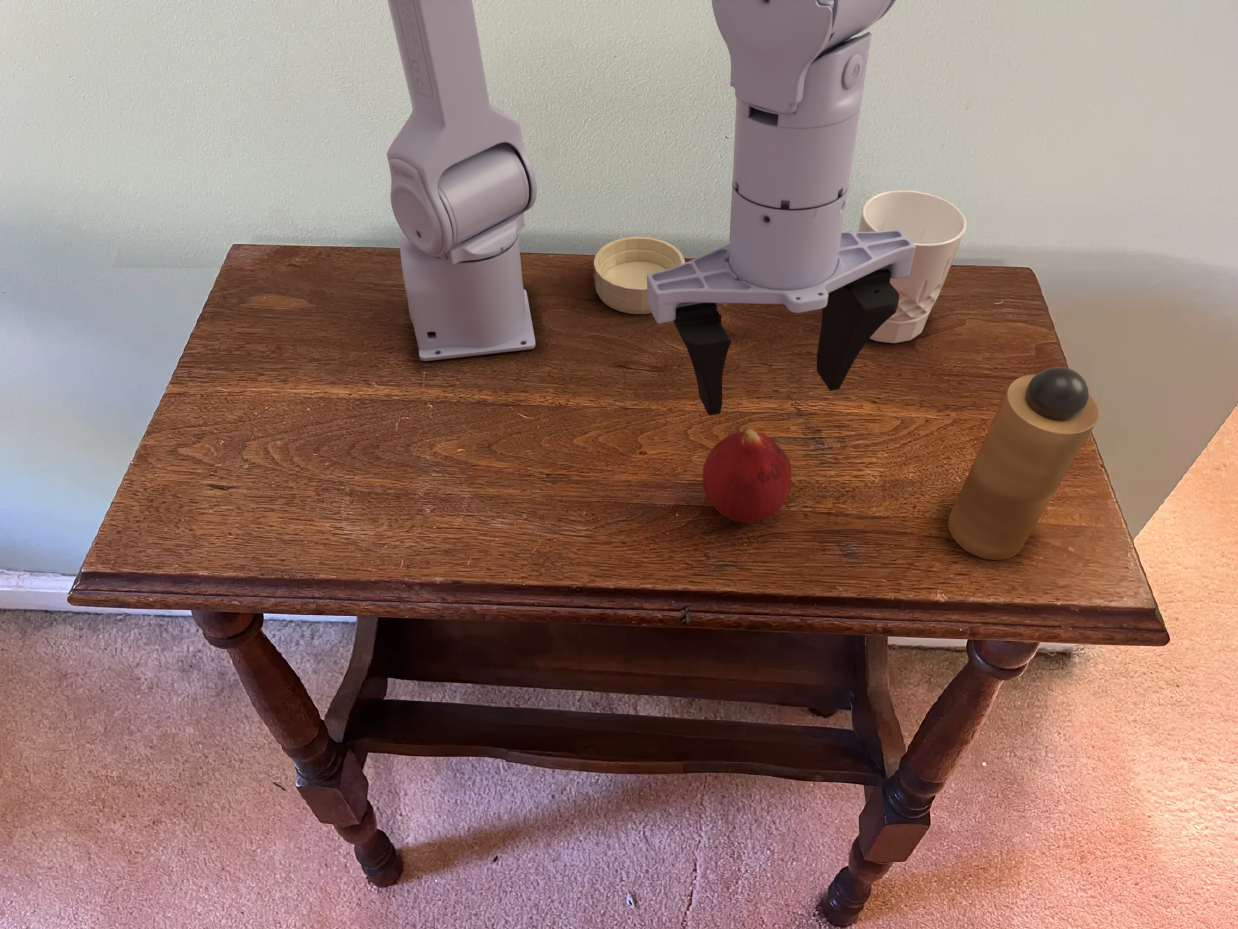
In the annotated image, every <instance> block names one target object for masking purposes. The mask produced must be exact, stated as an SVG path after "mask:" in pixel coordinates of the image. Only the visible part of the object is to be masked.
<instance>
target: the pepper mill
mask: <svg viewBox="0 0 1238 929" xmlns="http://www.w3.org/2000/svg"><path fill="white" fill-rule="evenodd" d="M1089 392H1090V391H1089V387H1088V385H1087V382H1086V380H1085V378H1084V377H1083V376H1082V375H1081V374H1080V373H1078V372H1077V371H1075V370H1074V369H1072V368H1068V367H1064V366H1053V367H1048V368H1045V369H1043V370H1041V371H1039V372H1038V373H1033V374H1027V375H1023V376H1021V377H1018V378H1016V379H1015V380H1013V381H1012V382H1011V383H1010V384H1009V386H1008V388H1007V390H1006V392H1005V394H1004V397H1003V398H1002V401H1001V403H1000V405H999V407H998V409H997V412H996V414H995V415H994V417H993V420H992V422H991V424H990V427H989V429H988V431H987V433H986V435H985V438H984V439H983V442H982V444H981V446H980V448H979V451H978V453H977V455H976V456H975V459H974V461H973V463H972V464H971V465H972V466H971V467H970V470H969V471H968V474H967V476H966V479H965V481H964V483H963V485H962V487H961V489H960V492H959V494H958V496H957V497H956V500H955V502H954V505H953V506H952V509H951V511H950V513H949V515H948V518H947V527H948V528H947V529H948V530H949V531H948V532H949V533H950V535H951V537H952V539H953V540H954V541H955V543H956V544H957V545H958V546H959V547H961V549H963V551H964V550H965V551H966V552H967V553H969V554H970V555H973V556H976V557H978V558H981V559H984V560H990V561H1003V560H1004V561H1005V560H1007V559H1010V558H1012V557H1015V556H1016V555H1017V554H1019V553H1020V552H1021V550H1022V549H1023V547H1024V545H1025V544H1026V542H1027V540H1028V538H1030V535H1031V534H1032V532H1033V530H1034V529H1035V527H1036V525H1037V523H1038V522H1039V520H1040V519H1041V517H1042V515H1043V513H1044V512H1045V510H1046V508H1047V507H1048V505H1049V503H1050V502H1051V500H1052V499H1053V497H1054V495H1055V494H1056V491H1057V490H1058V488H1059V487H1060V485H1061V483H1062V481H1063V479H1064V478H1065V476H1066V474H1067V473H1068V471H1069V469H1070V468H1071V466H1072V464H1073V463H1074V462H1075V459H1076V458H1077V456H1078V454H1079V453H1080V451H1081V449H1082V448H1083V445H1085V442H1086V441H1087V439H1088V437H1089V436H1090V434H1091V432H1092V431H1093V429H1094V427H1095V425H1096V424H1097V422H1098V420H1099V409H1098V405H1097V403H1096V402H1095V400H1094V399H1093V397H1092V396H1091V395H1090V394H1089Z"/></svg>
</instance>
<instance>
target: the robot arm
mask: <svg viewBox="0 0 1238 929" xmlns="http://www.w3.org/2000/svg"><path fill="white" fill-rule="evenodd" d="M896 1H897V0H711V6H712V7H711V8H712V12H713V16H714V19H715V23H716V25H717V29H718V31H719V33H720V35H721V37H722V40H723V41H724V43H725V44H726V47H727V50H728V53H729V58H730V80H729V81H730V84H729V85H730V87H732V88H734V95H735V118H734V119H735V122H734V141H733V143H734V144H733V163H732V164H733V165H732V181H731V182H732V183H731V201H730V220H729V221H730V222H729V240H728V241H729V243H728V244H726V245H724V246H722V247H719V248H716V249H714V250H711V251H710V252H708V253H704V254H703V255H700V256H698V257H696V258H693V259H691V260H689V261H685V263H684V264H681V265H679V266H676V267H673V268H671V269H667V270H664V271H660V272H655V273H651V274H647V296H648V306H649V308H650V310H651V312H652V313H651V314H652V317H653V318H654V320H655V322H656V324H664V323H670V322H673V324H674V326H675V328H676V330H677V332H678V335H679V336H680V338H681V340H682V342H683V344H684V345H685V347H686V350H687V353H688V355H689V358H690V360H691V364H692V367H693V371H694V375H695V379H696V383H697V389H698V396H699V399H700V401H701V403H702V405H703V407H704V409H705V411H706V413H707V415H708V416H715V415H720V414H721V411H722V409H723V408H722V407H723V376H724V370H725V364H726V360H727V359H726V358H727V356H728V351H729V349H730V346H731V343H732V340H731V338H730V336H729V335H728V333H727V332H726V330H725V327H724V326H723V324H722V314H720V312H719V311H718V306H721V305H727V304H746V305H747V304H750V305H753V304H754V305H758V304H759V305H784V306H785V307H786V309H787V310H788V311H789V312H791V313H794V314H800V313H807V312H812V311H816V310H821V324H820V332H819V338H818V345H817V352H816V372H817V374H818V375H819V377H820V378H821V380H822V382H824V384H825V386H826V388H827V389H828V390H829V392H831V391H836V390H837V391H838V390H840V389H841V387H842V385H843V383H844V381H845V379H846V377H847V375H848V374H849V371H850V369H851V368H852V366H853V364H854V362H855V361H856V359H857V358H858V355H859V354H860V352H861V351H862V349H863V348H864V346H865V345H866V344H867V343H868V341H869V340H870V339H869V338H870V337H871V336H872V335H873V334H874V333H875V331H876V330H877V329H878V328H879V327H880V326H881V325H882V324H883V323H884V322H885V321H886V320H887V319H889V318H890V317H891V316H892V315H893V314H895V313H896V310H897V307H898V302H899V298H900V296H899V293H898V291H897V290H896V289H895V288H894V287H893V286H892V285H891V283H890V278H892V279H898V278H903V277H908V276H910V271H911V266H912V262H913V257H914V253H915V248H916V246H915V245H914V244H913V243H912V242H911V241H910V240H909V239H908V238H907V237H906V236H905V235H904V234H903V232H902V231H901V230H900V229H894V230H888V231H876V232H858V231H843V227H844V220H845V213H846V206H847V200H848V194H849V187H850V181H851V175H852V168H853V162H854V155H855V147H856V141H857V135H858V128H859V121H860V115H861V108H862V101H863V96H864V88H865V80H866V74H867V73H866V72H867V66H868V61H869V60H868V59H869V53H870V46H871V40H872V33H871V32H870V31H867V32H865V33H863V34H861V35H859V36H856V35H858V34H860V33H862V32H864V31H866V30H867V29H869V28H871V26H873V25H874V24H876V23H877V22H878V21H879V20H880V19H882V18H884V16H885V15H886V14H887V13H888V12H889V11H890V10H891V8H892V7H893V5H894V4H895V2H896ZM387 3H388V8H389V14H390V17H391V21H392V26H393V30H394V35H395V38H396V42H397V47H398V51H399V56H400V60H401V65H402V69H403V73H404V77H405V78H404V79H405V82H406V87H407V92H408V95H409V99H410V104H411V108H412V111H411V113H410V114H409V117H408V119H407V120H406V122H405V123H404V124H403V126H402V127H401V129H400V130H399V132H398V134H396V137H395V138H394V140H393V141H392V143H391V144H390V146H389V148H388V149H387V152H386V157H387V161H388V166H389V172H390V180H391V182H390V183H391V184H390V205H391V209H392V212H393V216H394V218H395V221H396V223H397V225H398V226H399V228H400V230H401V231H402V233H403V234H404V236H403V237H401V238H399V252H400V253H399V254H400V263H401V269H402V271H401V272H402V276H403V283H404V290H405V294H406V299H407V303H408V304H407V305H408V306H407V307H408V313H409V319H410V322H411V323H412V325H413V329H414V330H413V331H414V334H415V338H416V343H417V347H418V348H417V349H418V356H419V359H420V361H423V362H431V361H438V360H440V361H441V360H449V359H457V358H466V357H473V356H484V355H493V354H501V353H509V352H510V353H511V352H519V351H529V350H532V349H535V347H536V344H537V343H536V338H535V333H534V332H535V331H534V326H533V320H532V315H531V311H530V304H529V297H528V293H527V290H526V289H525V288H524V281H523V280H524V279H523V270H522V260H521V252H520V251H521V250H520V239H519V231H520V230H521V229H523V228H524V227H525V226H526V222H525V212H528V211H529V210H530V209H532V207H533V206H534V204H536V200H537V195H538V183H537V182H538V181H537V174H536V171H535V167H534V165H533V162H532V160H531V158H530V156H529V154H528V152H527V150H526V147H525V144H524V141H523V140H524V139H523V136H522V128H521V123H519V121H517V120H516V119H515V118H514V117H513V116H511V115H510V114H508V113H507V112H506V111H503V110H502V109H500V108H498V107H496V106H493V105H491V104H490V98H489V94H488V93H489V92H488V86H487V80H486V75H485V69H484V63H483V56H482V51H481V46H480V45H481V44H480V39H479V32H478V27H477V22H476V16H475V9H474V4H473V0H387Z"/></svg>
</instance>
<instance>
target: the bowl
mask: <svg viewBox="0 0 1238 929" xmlns="http://www.w3.org/2000/svg"><path fill="white" fill-rule="evenodd" d="M684 263H686V260H685V258H684V255H683V253H682V252H681V251H680V250H679V249H678V248H677V247H676V246H675V245H673V244H671V243H669V242H667V241H665V240H662V239H659V238H655V237H650V236H639V235H638V236H625V237H622V238H618V239H616V240H612V241H610V242H608V243H607V244H604V245H603V246H602V247H601V248H600V249H599V250H598V251H597V253H595V256H594V259H593V286H594V289H595V292H596V294H597V295H598V297H599V299H600V300H601V301H602V302H603V303H604V304H605V305H606V306H608V307H609V308H611V309H613V310H616V311H618V312H621V313H626V314H632V315H648V314H652V312H651V310H650V308H649V306H648V296H647V274H651V273H655V272H660V271H664V270H667V269H671V268H673V267H676V266H679V265H681V264H684Z"/></svg>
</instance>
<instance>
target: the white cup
mask: <svg viewBox="0 0 1238 929" xmlns="http://www.w3.org/2000/svg"><path fill="white" fill-rule="evenodd" d="M967 225H968V224H967V219H966V217H965V215H964V213H963V212H962V211H961V210H960V209H959V207H957V206H956V205H955V204H953V203H952V202H950V201H949V200H946V199H945V198H942V197H940V196H937V195H934V194H931V193H928V192H923V191H919V190H910V189H909V190H907V189H906V190H904V189H898V190H896V189H895V190H888V191H883V192H880V193H878V194H875V195H873V196H871V197H870V198H868V199H867V200H866V202H864V204H863V206H862V209H861V214H860V221H859V226H858V230H857V232H876V231H888V230H894V229H900V230H901V231H902V232H903V234H904V235H905V236H906V237H907V238H908V239H909V240H910V241H911V242H912V243H913V244H914V245H915V246H916V248H915V253H914V257H913V262H912V266H911V271H910V276H908V277H903V278H898V279H892V278H890V283H891V285H892V286H893V287H894V288H895V289H896V290H897V291H898V293H899V296H900V298H899V302H898V307H897V310H896V313H895V314H893V315H892V316H891V317H890V318H889V319H887V320H886V321H885V322H884V323H883V324H882V325H881V326H880V327H879V328H878V329H877V330H876V331H875V333H874V334H873V335H872V336H871V337H870V338H869V340H872V341H874V342H880V343H887V344H888V343H889V344H898V343H905V342H909V341H911V340H913V339H915V338H916V337H918V336H919V335H920V334H922V333H923V330H924V328H925V326H926V323H927V320H928V318H929V315H930V313H931V311H932V309H933V307H934V305H935V304H936V302H937V299H938V298H939V296H940V294H941V291H942V289H943V286H944V284H945V282H946V279H947V277H948V274H949V272H950V270H951V267H952V265H953V262H954V260H955V258H956V254H957V252H958V249H959V247H960V245H961V241H962V240H963V238H964V235H965V232H966V231H967Z"/></svg>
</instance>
